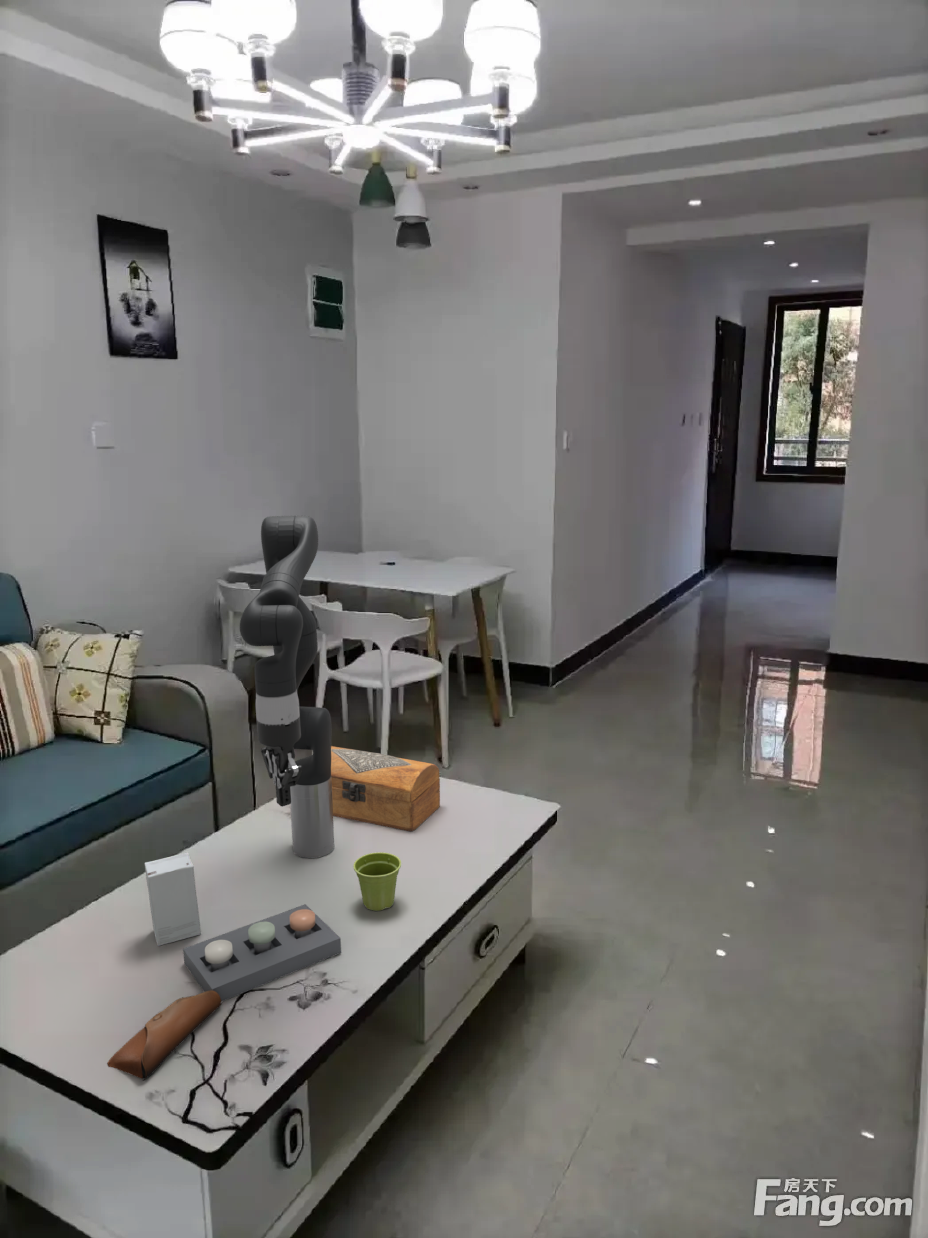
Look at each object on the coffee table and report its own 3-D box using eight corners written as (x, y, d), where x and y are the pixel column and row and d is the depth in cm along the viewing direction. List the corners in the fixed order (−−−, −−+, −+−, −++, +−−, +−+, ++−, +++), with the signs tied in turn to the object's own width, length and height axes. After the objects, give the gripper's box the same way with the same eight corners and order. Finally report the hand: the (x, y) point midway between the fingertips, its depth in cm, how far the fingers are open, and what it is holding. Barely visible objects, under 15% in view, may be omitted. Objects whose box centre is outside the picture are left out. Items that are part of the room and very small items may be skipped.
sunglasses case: (181, 994, 149) (194, 969, 147) (212, 1021, 148) (226, 996, 145) (102, 1066, 133) (116, 1039, 131) (136, 1098, 132) (151, 1071, 129)
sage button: (245, 949, 159) (244, 927, 158) (269, 940, 162) (268, 918, 161) (256, 961, 156) (254, 939, 155) (280, 952, 158) (278, 930, 157)
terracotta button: (286, 936, 164) (285, 915, 163) (308, 927, 167) (307, 906, 166) (297, 948, 160) (296, 926, 159) (320, 939, 163) (319, 917, 162)
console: (184, 963, 158) (182, 948, 157) (306, 918, 172) (305, 904, 171) (213, 1005, 147) (212, 989, 146) (341, 952, 161) (340, 938, 160)
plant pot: (395, 918, 171) (393, 878, 169) (348, 913, 173) (346, 873, 171) (407, 893, 180) (406, 854, 178) (363, 888, 182) (361, 850, 180)
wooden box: (301, 812, 217) (298, 759, 213) (338, 786, 231) (336, 737, 228) (409, 836, 204) (408, 780, 201) (441, 807, 219) (440, 755, 216)
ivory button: (202, 968, 155) (200, 946, 154) (227, 958, 157) (226, 936, 156) (212, 981, 151) (210, 959, 150) (238, 971, 154) (236, 949, 153)
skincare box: (196, 920, 171) (190, 850, 168) (201, 936, 166) (195, 864, 162) (150, 931, 168) (143, 860, 164) (154, 948, 162) (147, 875, 159)
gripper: (243, 709, 160) (250, 796, 164) (274, 731, 149) (280, 824, 154) (281, 700, 164) (287, 786, 168) (314, 721, 154) (319, 812, 158)
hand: (284, 804), depth 161 cm, fingers closed
